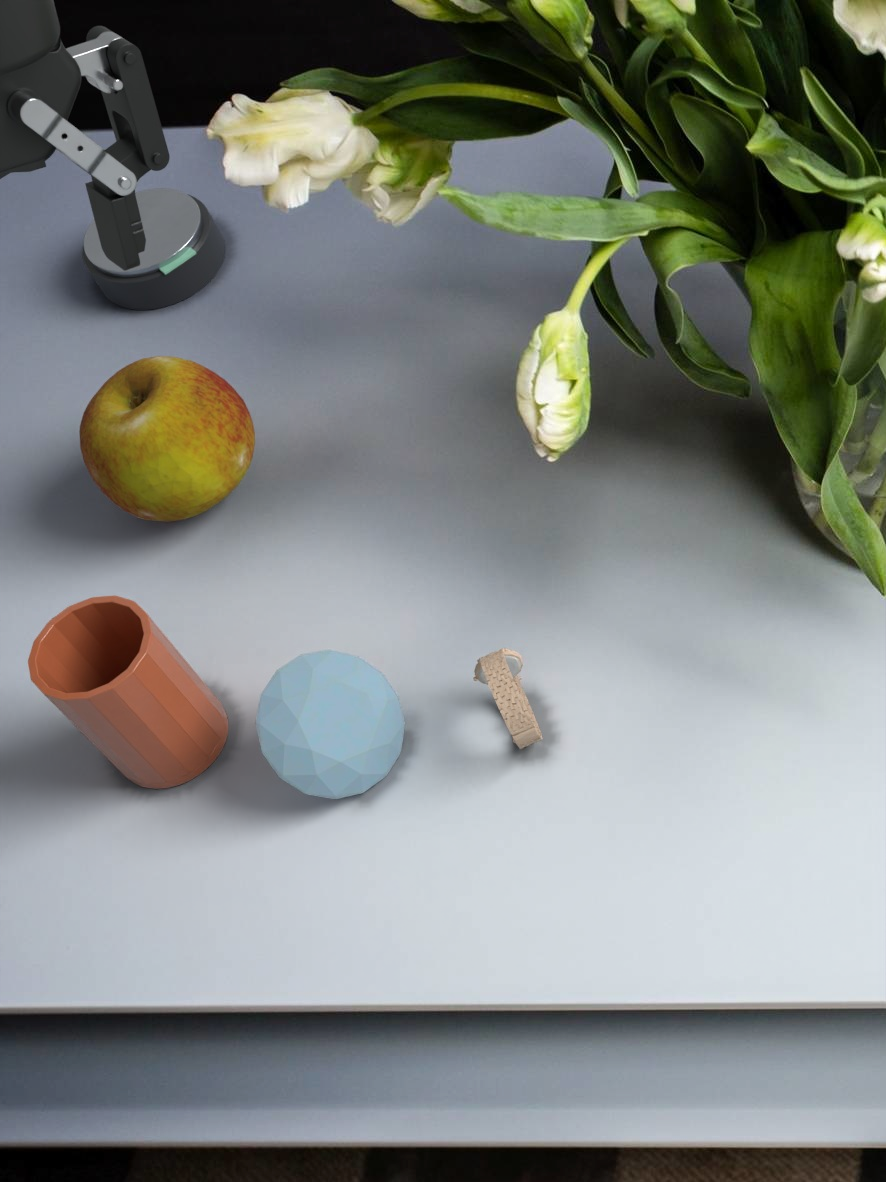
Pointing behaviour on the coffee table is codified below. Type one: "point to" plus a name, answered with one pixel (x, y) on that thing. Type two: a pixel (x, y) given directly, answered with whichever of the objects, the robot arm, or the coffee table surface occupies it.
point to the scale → (161, 253)
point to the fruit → (166, 438)
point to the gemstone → (330, 724)
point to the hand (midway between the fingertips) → (36, 292)
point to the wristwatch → (509, 694)
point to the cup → (129, 691)
